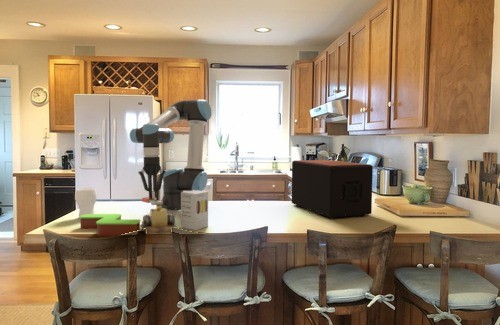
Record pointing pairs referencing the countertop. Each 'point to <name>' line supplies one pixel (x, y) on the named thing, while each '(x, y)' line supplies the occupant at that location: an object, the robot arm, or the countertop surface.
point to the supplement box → (194, 209)
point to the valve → (158, 217)
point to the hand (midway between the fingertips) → (153, 204)
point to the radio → (332, 187)
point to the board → (158, 229)
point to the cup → (86, 200)
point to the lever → (152, 201)
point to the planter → (108, 224)
